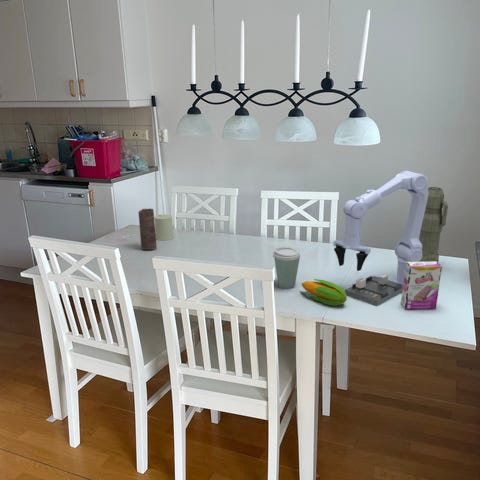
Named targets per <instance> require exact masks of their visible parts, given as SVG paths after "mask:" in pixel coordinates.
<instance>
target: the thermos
mask: <svg viewBox="0 0 480 480" xmlns="http://www.w3.org/2000/svg"><path fill="white" fill-rule="evenodd" d="M428 192H429V194H428V199H427V204H426V208H425V213H424V217H423V222H422V226H421V231H420V235H419V241H420V242H421V244H422V258H421V260H420V261H419V262H430V261H436V262H438V263H439V260H440V255H439V247H440V246H439V245H440V237H441V232H442V231H443V227H445V226H446V223H447V221H446V220H447V216H448V211H449V209H448V208H449V205H448V203H447V201H445V194H444V193H445V192H444V190H443V188H442V187H436V186H430V187H428Z"/></svg>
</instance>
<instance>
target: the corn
mask: <svg viewBox="0 0 480 480" xmlns="http://www.w3.org/2000/svg"><path fill="white" fill-rule="evenodd" d="M301 287H302V288H303V289H304V290H305V292H304V291H303V292H302V293H303V294H304V295H306V296H308V297H309V298H310V299H313V300H315V301H317V302H320V303H323V304H325V305H328V306H331V307H335V306H339V305H342V304H345V302H347V300H348V298H347V297H348V296H346V292H345V289H343V287H342V286H340V285H338V284H336V283H334V282H330V281H328V280H325V279H319V278H313V281H311V280H310V281H309V280H306V281H303V282H302V283H301Z"/></svg>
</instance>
